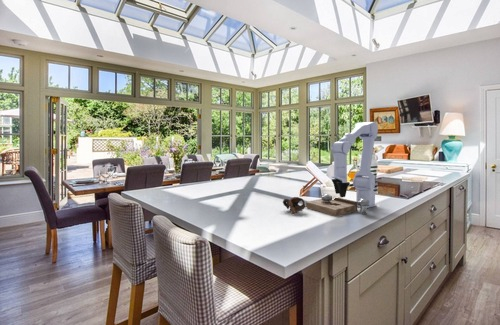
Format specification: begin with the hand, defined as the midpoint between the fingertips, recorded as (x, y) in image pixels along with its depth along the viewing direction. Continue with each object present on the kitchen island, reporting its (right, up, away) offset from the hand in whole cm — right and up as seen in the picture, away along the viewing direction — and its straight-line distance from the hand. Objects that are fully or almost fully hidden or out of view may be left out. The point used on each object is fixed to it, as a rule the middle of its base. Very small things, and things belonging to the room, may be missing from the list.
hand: (340, 195), depth 139 cm
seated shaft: (-3, -8, +13) cm, 16 cm away
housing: (-1, -8, +11) cm, 14 cm away
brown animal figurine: (-21, -9, +8) cm, 24 cm away
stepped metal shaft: (+12, -9, +1) cm, 15 cm away
